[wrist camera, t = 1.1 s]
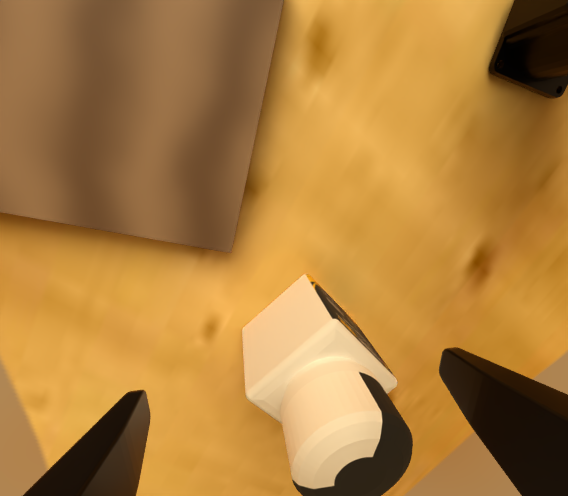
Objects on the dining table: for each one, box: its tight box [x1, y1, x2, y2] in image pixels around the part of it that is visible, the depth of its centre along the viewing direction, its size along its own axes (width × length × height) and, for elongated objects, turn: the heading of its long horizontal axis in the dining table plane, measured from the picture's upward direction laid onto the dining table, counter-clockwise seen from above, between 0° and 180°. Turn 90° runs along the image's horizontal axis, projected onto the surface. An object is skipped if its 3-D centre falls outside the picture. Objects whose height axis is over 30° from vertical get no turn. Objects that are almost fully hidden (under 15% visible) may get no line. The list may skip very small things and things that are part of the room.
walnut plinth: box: [0, 0, 284, 253], centre depth 16 cm, size 16×16×2 cm
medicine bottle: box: [242, 274, 413, 496], centre depth 18 cm, size 7×7×12 cm
